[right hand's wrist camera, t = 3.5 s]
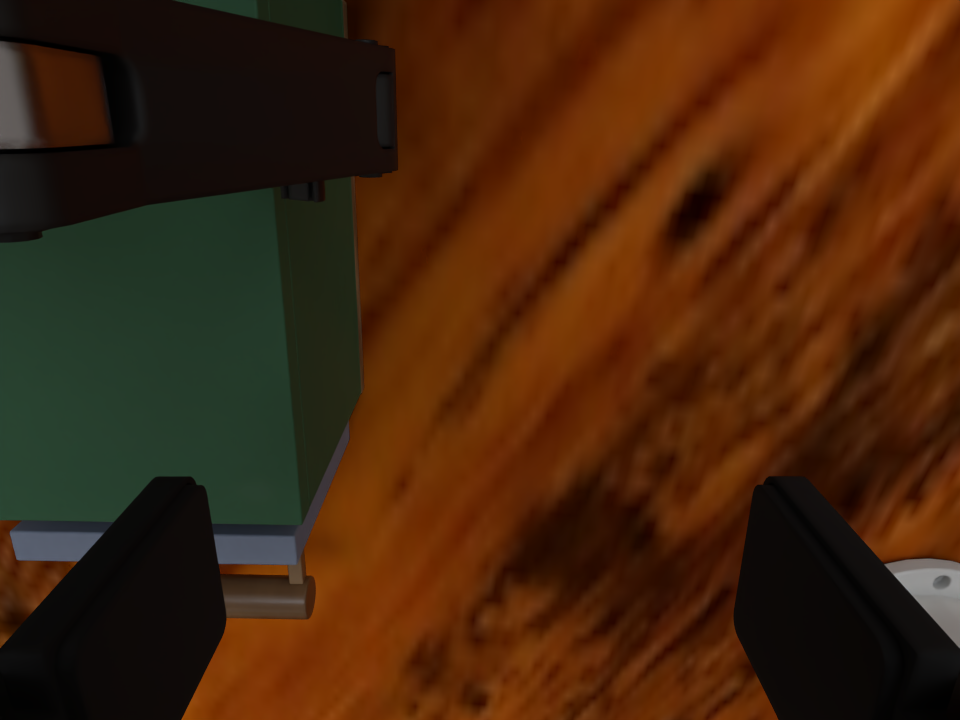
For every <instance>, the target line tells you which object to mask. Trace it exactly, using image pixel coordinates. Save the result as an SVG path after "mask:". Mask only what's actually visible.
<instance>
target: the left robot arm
mask: <svg viewBox="0 0 960 720" xmlns="http://www.w3.org/2000/svg"><path fill="white" fill-rule="evenodd" d="M396 170H398V153H397V110H396V72H395V49H392V48H389V46H382V45H378V41H375V40H351V39H347V38H342V37H338V36H333V35H329V34H324V33H320V32H315V31H311V30H306V29H301V28H297V27H292V26H288V25H283V24H279V23H274V22H270V21H265V20H261V19H256V18H251V17H247V16H242V15H238V14H233V13H229V12H224V11H220V10H215V9H211V8H206V7H201V6H197V5H192V4H188V3H183V2H179V1H174V0H0V243H13V242H24V241H31V240H36V239H40V238H42V237H43V235H42V231H45V230H49V229H53V228H59V227H64V226H69V225H73V224H77V223H81V222H85V221H89V220H92V219H96V218H100V217H104V216H108V215H112V214H115V213H119V212H123V211H127V210H131V209H135V208H138V207H142V206H146V205H152V204H159V203H166V202H174V201H181V200H188V199H195V198H202V197H209V196H217V195H224V194H231V193H238V192H245V191H253V190H260V189H267V188H274V187H280V189H281V199H290V200H299V201H314V202H323V201H325V184H324V180H332V179H339V178H346V177H353V176H359V177H367V178H376V177H382V173H392V171H396Z"/></svg>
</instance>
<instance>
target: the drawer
mask: <svg viewBox="0 0 960 720" xmlns="http://www.w3.org/2000/svg"><path fill="white" fill-rule="evenodd" d="M349 439H350V435H349V421H348V423H347V425H346V427H345V430H344V432H343V434H342V436H341V439H340V441H339V443H338V445H337V448H336V450H335V452H334V454H333V457H332V459H331V461H330V463H329V465H328V468H327V470H326V472H325V474H324V477H323V479H322V481H321V483H320V486H319V488H318V490H317V492H316V495H315V497H314V499H313V501H312V503H311V506H310V509H309V511H308V513H307V515H306V518H305V520H304V522H303V524H302V525H257V524H212V527H213V533H214V540H215V546H216V552H217V558H218V564H262V565H288V573H289V575H245V574H220V576H221V583H222V589H223V595H224V601H225V607H226V618H255V619H309V618H310V617H311V615H312V612H313V608H314V603H315V594H316V586H315V580H314V577H313V576H306V567H305V556H304V547H305V544H306V542H307V540H308V537H309V535H310V532H311V530H312V528H313V525H314V523H315V521H316V518H317V516H318V513H319V511H320V509H321V506H322V504H323V501H324V499H325V497H326V494H327V492H328V489H329V487H330V485H331V482H332V480H333V478H334V475H335V473H336V470H337V468H338V466H339V463H340V461H341V458H342V456H343V454H344V451H345V449H346V446H347V444H348V442H349ZM112 524H113V522H85V521H27V520H22V521H21V522H20V523H19V524H18V525H17V526H16V527H14V528H13V529H12V530H11V531H10V536H11V539H12V543H13V547H14V551H15V555H16V558H17V560H32V561H79V560H80V559H81V558H82V557H83V556H84V555H85V554H86V552H87V551H88V550H89V549H90V548H91V547H92V546H93V545H94V544H95V542H96V541H97V540H98V539H99V538H100V537H101V536H102V535H103V534H104V532H105V531H106V530H107V529H108V528H109V527H110V526H111V525H112Z"/></svg>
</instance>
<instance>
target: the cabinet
mask: <svg viewBox="0 0 960 720" xmlns="http://www.w3.org/2000/svg"><path fill="white" fill-rule="evenodd" d="M174 1H179V2H183V3H188V4H192V5H197V6H201V7H206V8H211V9H215V10H220V11H224V12H229V13H233V14H238V15H242V16H247V17H251V18H256V19H261V20H265V21H270V22H274V23H279V24H283V25H288V26H292V27H297V28H301V29H306V30H311V31H315V32H320V33H324V34H329V35H333V36H338V37H342V38H347V39H348V26H347V4H346V2H345V1H344V0H174ZM324 184H325V201H323V202H314V201H299V200H290V199H281V189H280V187H274V188H267V189H260V190H253V191H245V192H238V193H231V194H224V195H217V196H209V197H202V198H195V199H188V200H181V201H174V202H166V203H159V204H152V205H146V206H142V207H138V208H135V209H131V210H127V211H123V212H119V213H115V214H112V215H108V216H104V217H100V218H96V219H92V220H89V221H85V222H81V223H77V224H73V225H69V226H64V227H59V228H53V229H49V230H45V231H42V235H43V237H42V238H40V239H36V240H31V241H24V242H13V243H0V520H27V521H85V522H114V521H115V520H116V519H117V518H118V517H119V516H120V515H121V514H122V512H123V511H124V510H125V509H126V508H127V507H128V506H129V505H130V504H131V502H132V501H133V500H134V499H135V498H136V497H137V496H138V495H139V494H140V492H141V491H142V490H143V489H144V488H145V487H146V486H147V485H148V484H149V482H150V481H151V480H152V479H154V478H155V477H159V476H191V477H192V478H194V480H195V482H196V484H197V485H203V486H204V487H205V489H206V492H207V496H208V503H209V509H210V515H211V521H212V524H257V525H302V524H303V522H304V520H305V518H306V515H307V513H308V511H309V509H310V506H311V503H312V501H313V499H314V497H315V495H316V492H317V490H318V488H319V486H320V483H321V481H322V479H323V477H324V474H325V472H326V470H327V468H328V465H329V463H330V461H331V459H332V457H333V454H334V452H335V450H336V448H337V445H338V443H339V441H340V439H341V436H342V434H343V432H344V430H345V427H346V425H347V423H348V421H349V419H350V416H351V414H352V412H353V410H354V407H355V405H356V403H357V401H358V398H359V396H360V394H362V391H363V389H364V371H363V349H362V328H361V306H360V285H359V263H358V241H357V220H356V198H355V177H354V176H353V177H346V178H339V179H332V180H324Z"/></svg>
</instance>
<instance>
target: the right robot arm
mask: <svg viewBox="0 0 960 720" xmlns="http://www.w3.org/2000/svg"><path fill="white" fill-rule="evenodd" d="M225 626H226V607H225V601H224V595H223V589H222V583H221V576H220V570H219V564H218V558H217V552H216V546H215V540H214V533H213V527H212V521H211V515H210V509H209V503H208V496H207V492H206V489H205V487H204V486H203V485H197V484H196V482H195V480H194V478H192V477H191V476H159V477H155V478H154V479H152V480H151V481H150V482H149V484H148V485H147V486H146V487H145V488H144V489H143V490H142V491H141V492H140V494H139V495H138V496H137V497H136V498H135V499H134V500H133V501H132V502H131V504H130V505H129V506H128V507H127V508H126V509H125V510H124V511H123V512H122V514H121V515H120V516H119V517H118V518H117V519H116V520H115V521H114V522H113V524H112V525H111V526H110V527H109V528H108V529H107V530H106V531H105V532H104V534H103V535H102V536H101V537H100V538H99V539H98V540H97V541H96V542H95V544H94V545H93V546H92V547H91V548H90V549H89V550H88V551H87V552H86V554H85V555H84V556H83V557H82V558H81V559H80V560H79V561H78V562H77V564H76V565H75V566H74V567H73V568H72V569H71V570H70V571H69V572H68V574H67V575H66V576H65V577H64V578H63V579H62V580H61V581H60V582H59V584H58V585H57V586H56V587H55V588H54V589H53V590H52V591H51V592H50V594H49V595H48V596H47V597H46V598H45V599H44V600H43V601H42V602H41V604H40V605H39V606H38V607H37V608H36V609H35V610H34V611H33V612H32V614H31V615H30V616H29V617H28V618H27V619H26V620H25V621H24V623H23V624H22V625H21V626H20V627H19V628H18V629H17V630H16V631H15V633H14V634H13V635H12V636H11V637H10V638H9V639H8V640H7V641H6V643H5V644H4V645H3V646H2V647H1V648H0V720H181V719H182V717H183V715H184V713H185V711H186V709H187V707H188V705H189V703H190V701H191V699H192V697H193V695H194V693H195V691H196V689H197V687H198V685H199V683H200V681H201V679H202V677H203V675H204V672H205V670H206V668H207V666H208V664H209V662H210V660H211V658H212V656H213V654H214V652H215V650H216V648H217V646H218V644H219V642H220V640H221V638H222V636H223V633H224V630H225ZM734 626H735V630H736V633H737V636H738V638H739V640H740V642H741V644H742V646H743V648H744V650H745V652H746V654H747V656H748V658H749V660H750V662H751V664H752V666H753V668H754V670H755V673H756V675H757V677H758V679H759V681H760V683H761V685H762V687H763V689H764V691H765V693H766V695H767V697H768V699H769V701H770V703H771V705H772V707H773V709H774V711H775V713H776V715H777V717H778V719H779V720H960V563H957V562H953V561H947V560H939V559H909V560H902V561H897V562H892V563H887V564H883V562H882V561H881V560H880V559H879V558H878V557H877V556H876V555H875V554H874V552H873V551H872V550H871V549H870V548H869V547H868V546H867V545H866V544H865V542H864V541H863V540H862V539H861V538H860V537H859V536H858V535H857V534H856V532H855V531H854V530H853V529H852V528H851V527H850V526H849V525H848V524H847V522H846V521H845V520H844V519H843V518H842V517H841V516H840V515H839V514H838V512H837V511H836V510H835V509H834V508H833V507H832V506H831V505H830V504H829V502H828V501H827V500H826V499H825V498H824V497H823V496H822V495H821V494H820V492H819V491H818V490H817V489H816V488H815V487H814V486H813V485H812V484H811V482H810V481H809V480H808V479H806V478H805V477H801V476H769V477H768V478H766V480H765V482H764V484H763V485H757V486H756V487H755V489H754V492H753V496H752V503H751V509H750V515H749V521H748V527H747V533H746V540H745V546H744V552H743V558H742V564H741V570H740V576H739V583H738V589H737V595H736V601H735V607H734Z"/></svg>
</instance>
